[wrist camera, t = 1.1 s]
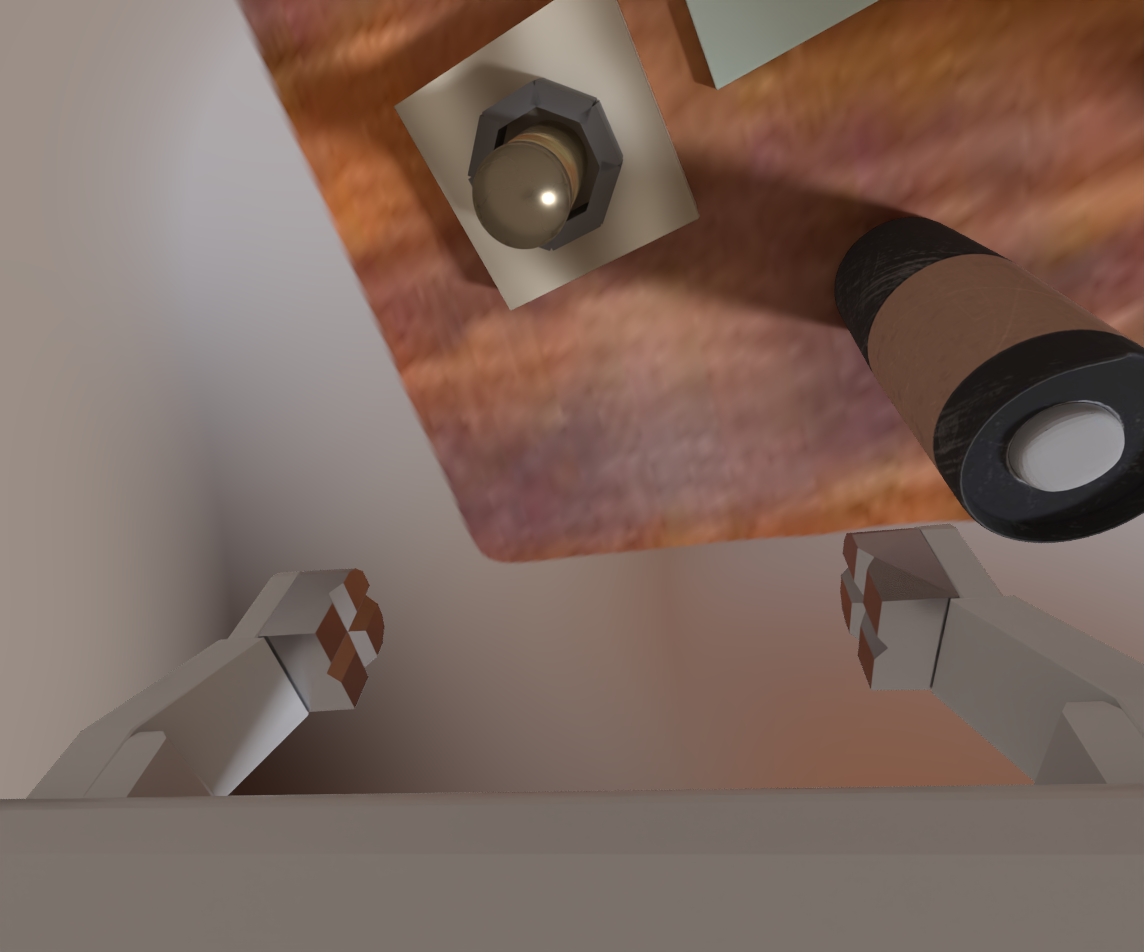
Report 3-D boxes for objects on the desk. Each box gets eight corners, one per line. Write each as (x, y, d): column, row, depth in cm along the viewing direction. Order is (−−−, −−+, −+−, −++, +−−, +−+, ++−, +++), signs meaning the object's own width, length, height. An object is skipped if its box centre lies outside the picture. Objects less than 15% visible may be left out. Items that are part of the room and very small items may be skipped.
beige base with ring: (606, -27, 32) (598, -37, 27) (696, 205, 37) (702, 229, 33) (411, 101, 36) (376, 110, 31) (519, 294, 41) (502, 325, 37)
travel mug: (846, 358, 41) (972, 569, 25) (813, 247, 38) (935, 408, 21) (977, 309, 39) (1212, 510, 22) (955, 186, 35) (1216, 316, 19)
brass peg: (566, 103, 32) (540, 122, 25) (601, 182, 34) (587, 222, 27) (497, 144, 34) (453, 174, 26) (535, 218, 36) (504, 265, 28)
